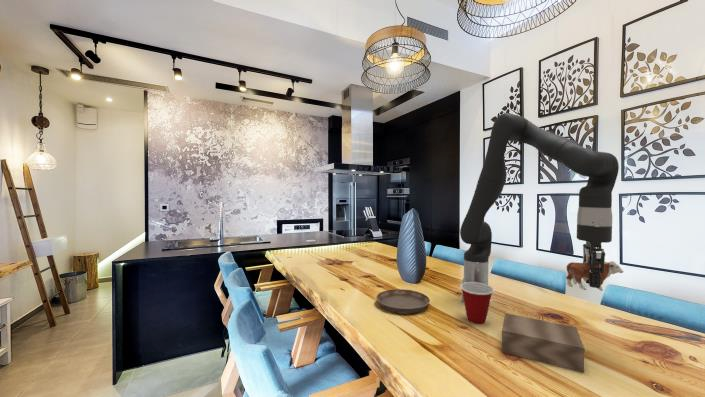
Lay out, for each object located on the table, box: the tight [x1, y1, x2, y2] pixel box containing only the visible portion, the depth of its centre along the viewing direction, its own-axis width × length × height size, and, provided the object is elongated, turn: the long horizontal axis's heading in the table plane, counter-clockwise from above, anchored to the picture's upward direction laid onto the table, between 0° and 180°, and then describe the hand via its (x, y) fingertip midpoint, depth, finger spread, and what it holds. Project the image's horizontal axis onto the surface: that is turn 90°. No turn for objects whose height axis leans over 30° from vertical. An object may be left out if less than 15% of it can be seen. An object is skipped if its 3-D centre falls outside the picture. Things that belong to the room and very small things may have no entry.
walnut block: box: [501, 313, 586, 374], centre depth 81 cm, size 18×14×6 cm
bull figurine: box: [565, 260, 624, 291], centre depth 80 cm, size 4×13×8 cm, turn 79°
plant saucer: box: [375, 288, 431, 315], centre depth 114 cm, size 21×21×3 cm
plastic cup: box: [459, 282, 495, 325], centre depth 100 cm, size 11×11×12 cm
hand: (592, 284), depth 80 cm, fingers closed on bull figurine, 5 cm apart
